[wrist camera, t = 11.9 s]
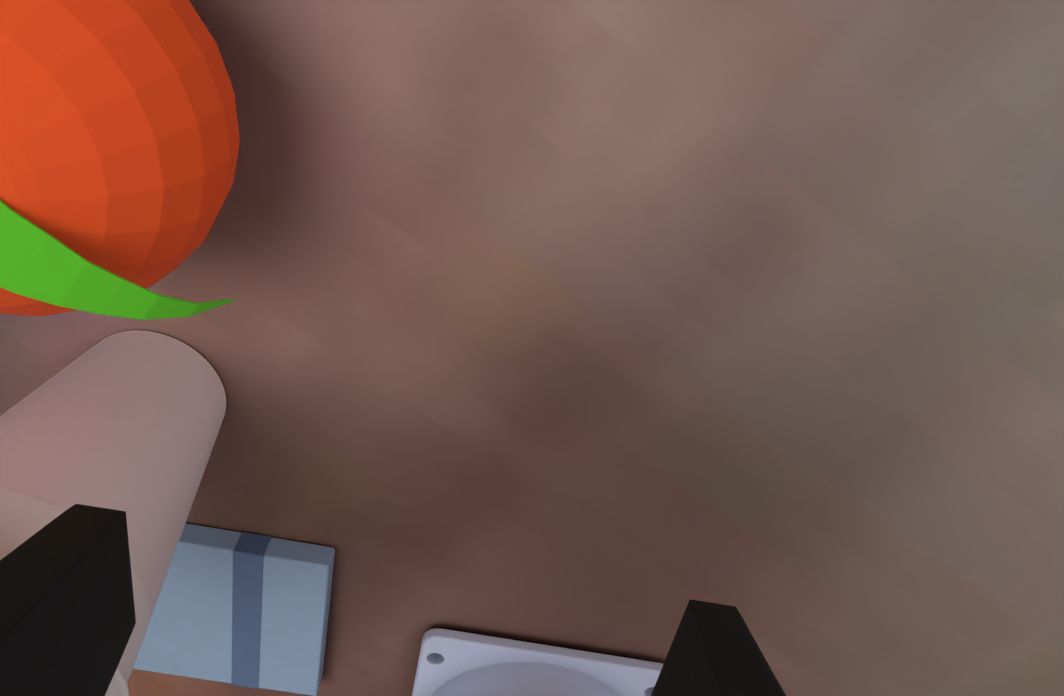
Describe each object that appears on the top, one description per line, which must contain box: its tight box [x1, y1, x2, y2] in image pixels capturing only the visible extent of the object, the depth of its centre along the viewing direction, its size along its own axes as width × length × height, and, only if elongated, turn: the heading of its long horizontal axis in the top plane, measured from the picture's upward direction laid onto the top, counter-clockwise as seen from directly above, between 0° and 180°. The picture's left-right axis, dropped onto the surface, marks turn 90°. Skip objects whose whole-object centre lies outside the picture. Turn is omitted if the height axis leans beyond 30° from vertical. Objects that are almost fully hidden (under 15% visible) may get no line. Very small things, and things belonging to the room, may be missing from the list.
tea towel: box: [133, 523, 335, 696], centre depth 25 cm, size 6×13×1 cm, turn 79°
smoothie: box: [0, 330, 226, 696], centre depth 16 cm, size 6×6×14 cm
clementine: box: [0, 0, 240, 320], centre depth 15 cm, size 8×7×7 cm
